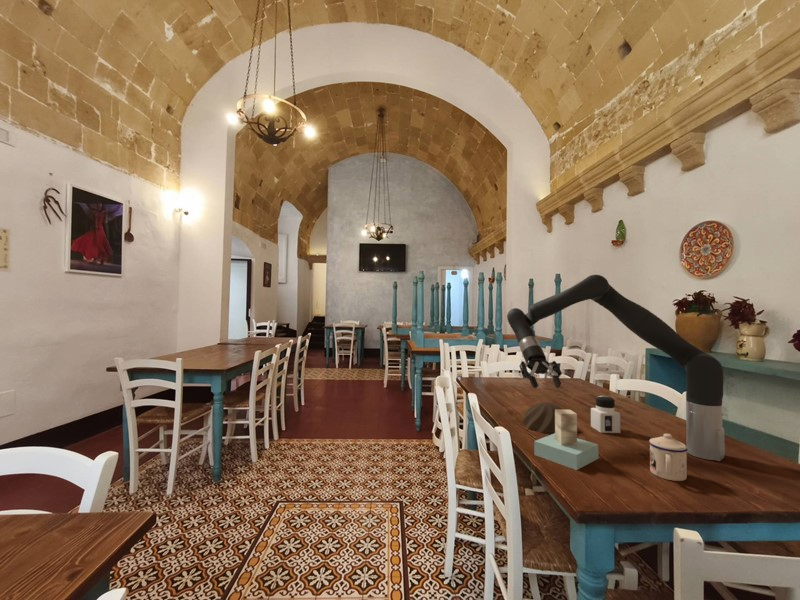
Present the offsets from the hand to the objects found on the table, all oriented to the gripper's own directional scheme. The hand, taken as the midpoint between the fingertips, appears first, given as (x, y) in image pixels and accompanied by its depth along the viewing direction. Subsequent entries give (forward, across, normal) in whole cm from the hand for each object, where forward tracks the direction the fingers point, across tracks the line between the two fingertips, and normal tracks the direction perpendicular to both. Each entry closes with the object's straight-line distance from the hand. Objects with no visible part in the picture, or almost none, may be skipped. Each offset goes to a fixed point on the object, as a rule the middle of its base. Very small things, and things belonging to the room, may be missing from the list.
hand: (547, 386), depth 130 cm
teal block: (+22, 0, +7) cm, 24 cm away
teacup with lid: (+34, +21, -5) cm, 40 cm away
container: (+6, +31, +22) cm, 39 cm away
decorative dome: (+2, +11, +28) cm, 30 cm away
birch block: (+19, 0, +3) cm, 19 cm away
